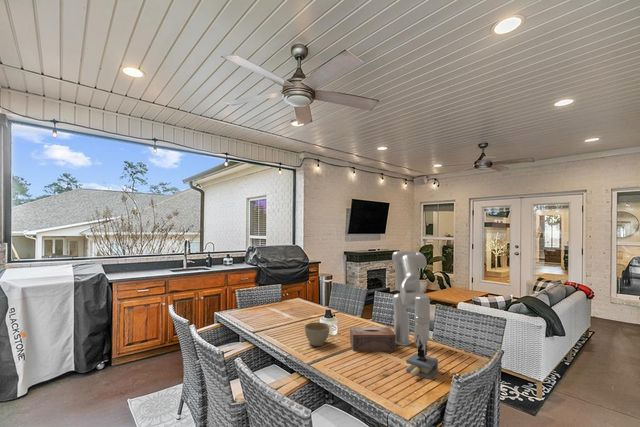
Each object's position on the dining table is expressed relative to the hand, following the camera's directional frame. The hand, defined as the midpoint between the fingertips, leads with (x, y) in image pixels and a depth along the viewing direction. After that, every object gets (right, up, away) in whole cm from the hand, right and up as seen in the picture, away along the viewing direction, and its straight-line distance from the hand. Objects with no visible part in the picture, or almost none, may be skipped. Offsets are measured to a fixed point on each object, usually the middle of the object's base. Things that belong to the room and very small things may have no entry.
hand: (422, 355), depth 162 cm
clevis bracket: (-2, -8, -3) cm, 9 cm away
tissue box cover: (-21, -10, +33) cm, 40 cm away
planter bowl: (-55, -9, +37) cm, 67 cm away
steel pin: (0, -3, 0) cm, 3 cm away
